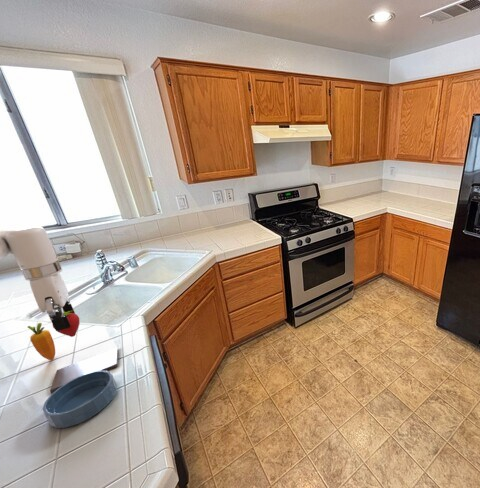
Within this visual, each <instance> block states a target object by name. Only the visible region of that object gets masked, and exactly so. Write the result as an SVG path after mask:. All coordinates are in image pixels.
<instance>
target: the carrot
mask: <svg viewBox="0 0 480 488" xmlns="http://www.w3.org/2000/svg"><path fill="white" fill-rule="evenodd" d="M42 324H43V323H42V322H38V323H37V325H36V327H35V326H31V325H28V326H27V329H29V330H31V331H32V332H33V333H32V335H30V336H29V339H30V342H31V344H32V345H33V348H34V349H35V351H36V352H37V353H38V354H39V355H40V356H41V357H42V358H44V359H46V360H48V361H54V359H55V355H56V346H55V341H54V338H53V336H52V333H51V332H50V330H48V329H45V326H43V327H42Z"/></svg>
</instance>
